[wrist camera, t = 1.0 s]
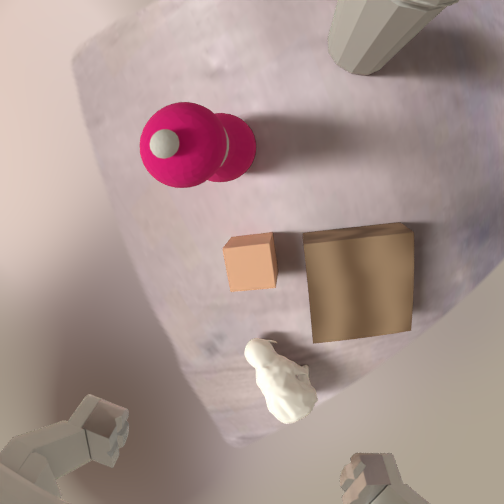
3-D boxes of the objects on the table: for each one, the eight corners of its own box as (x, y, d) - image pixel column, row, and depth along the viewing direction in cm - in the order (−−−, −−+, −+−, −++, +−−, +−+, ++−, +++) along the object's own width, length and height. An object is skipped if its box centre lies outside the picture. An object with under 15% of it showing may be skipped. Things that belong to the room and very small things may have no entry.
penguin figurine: (279, 436, 37) (220, 374, 36) (286, 398, 45) (237, 341, 44) (321, 418, 35) (263, 350, 34) (322, 380, 43) (273, 319, 42)
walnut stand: (399, 222, 36) (413, 232, 31) (400, 311, 39) (410, 330, 34) (302, 232, 38) (303, 244, 33) (311, 322, 41) (312, 343, 36)
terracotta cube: (272, 231, 38) (269, 243, 33) (278, 271, 40) (275, 287, 35) (231, 236, 39) (222, 248, 34) (238, 275, 40) (230, 291, 36)
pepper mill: (273, 148, 35) (248, 140, 16) (228, 191, 37) (160, 231, 18) (229, 105, 34) (160, 59, 15) (187, 149, 36) (87, 150, 18)
